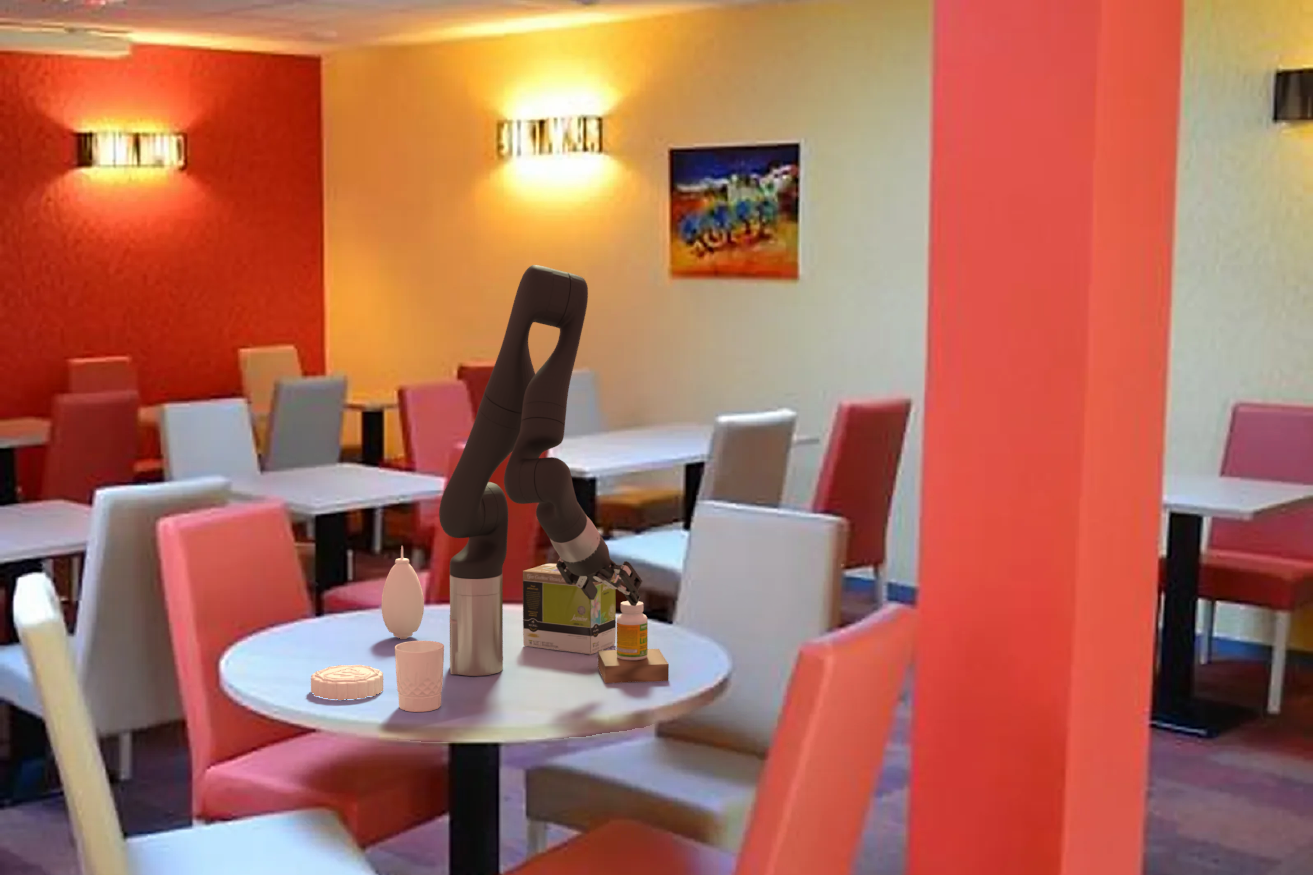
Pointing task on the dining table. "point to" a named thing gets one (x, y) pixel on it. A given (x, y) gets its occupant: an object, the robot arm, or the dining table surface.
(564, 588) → the tea box
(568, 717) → the dining table surface
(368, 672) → the mooncake
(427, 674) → the peach drinking glass
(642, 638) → the supplement bottle
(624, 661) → the walnut plinth
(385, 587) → the air blower bulb
